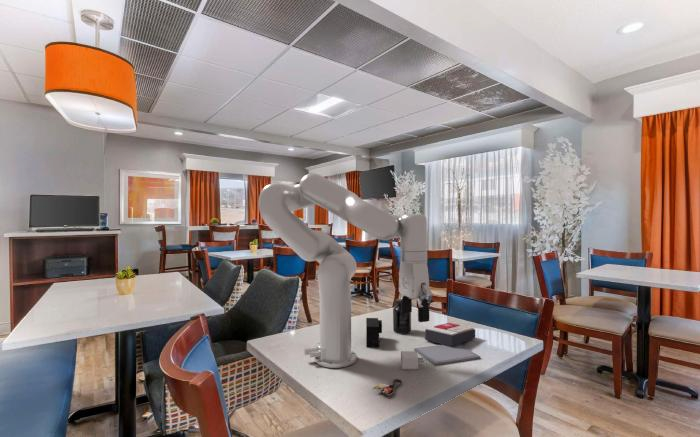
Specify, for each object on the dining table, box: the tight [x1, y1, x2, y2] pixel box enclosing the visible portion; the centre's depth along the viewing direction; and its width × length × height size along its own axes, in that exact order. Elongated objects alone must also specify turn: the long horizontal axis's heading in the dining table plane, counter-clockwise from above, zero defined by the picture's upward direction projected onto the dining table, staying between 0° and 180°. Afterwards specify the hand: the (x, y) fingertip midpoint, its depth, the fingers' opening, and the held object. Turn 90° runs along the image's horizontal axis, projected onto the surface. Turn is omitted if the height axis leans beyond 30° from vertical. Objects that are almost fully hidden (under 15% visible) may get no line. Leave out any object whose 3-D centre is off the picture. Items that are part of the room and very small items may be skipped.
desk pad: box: [413, 344, 481, 366], centre depth 102 cm, size 16×12×1 cm
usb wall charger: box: [400, 350, 428, 371], centre depth 93 cm, size 4×7×4 cm, turn 88°
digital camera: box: [365, 317, 383, 349], centre depth 113 cm, size 10×5×7 cm, turn 177°
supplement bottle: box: [392, 298, 412, 335], centre depth 124 cm, size 7×7×12 cm
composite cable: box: [372, 378, 403, 399], centre depth 80 cm, size 10×5×2 cm, turn 134°
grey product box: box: [424, 322, 476, 347], centre depth 115 cm, size 11×4×15 cm
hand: (414, 316), depth 93 cm, fingers open, 9 cm apart
